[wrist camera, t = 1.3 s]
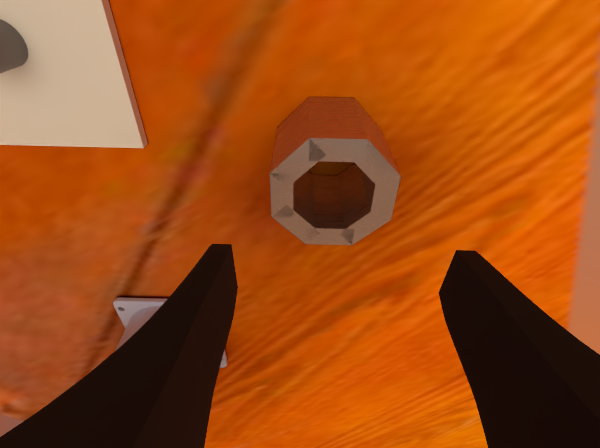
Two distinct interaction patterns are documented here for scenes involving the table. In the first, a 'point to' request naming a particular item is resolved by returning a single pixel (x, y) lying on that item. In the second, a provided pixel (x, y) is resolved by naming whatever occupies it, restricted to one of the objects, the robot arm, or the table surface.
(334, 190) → the collar
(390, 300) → the table surface
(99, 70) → the post stand
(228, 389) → the table surface
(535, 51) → the table surface
